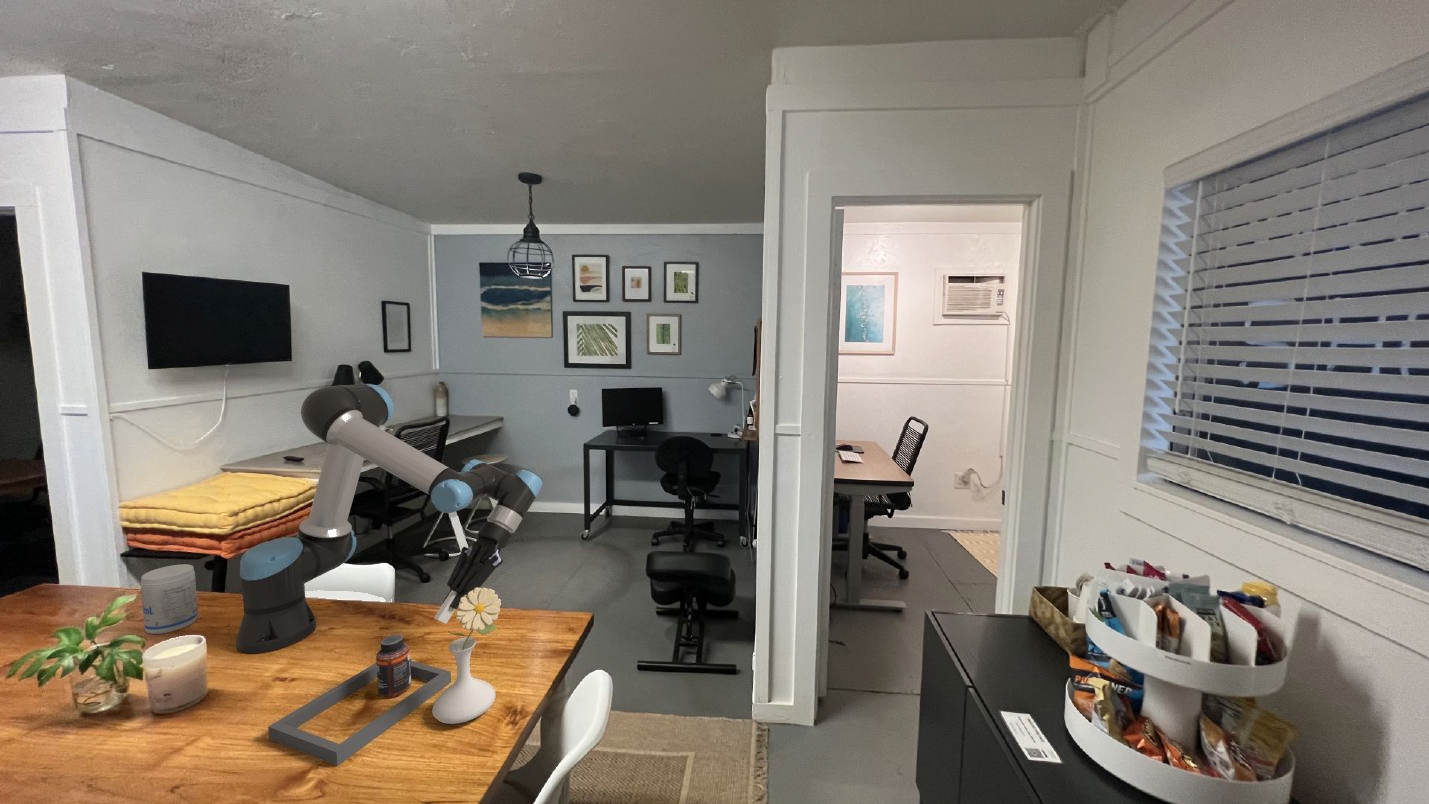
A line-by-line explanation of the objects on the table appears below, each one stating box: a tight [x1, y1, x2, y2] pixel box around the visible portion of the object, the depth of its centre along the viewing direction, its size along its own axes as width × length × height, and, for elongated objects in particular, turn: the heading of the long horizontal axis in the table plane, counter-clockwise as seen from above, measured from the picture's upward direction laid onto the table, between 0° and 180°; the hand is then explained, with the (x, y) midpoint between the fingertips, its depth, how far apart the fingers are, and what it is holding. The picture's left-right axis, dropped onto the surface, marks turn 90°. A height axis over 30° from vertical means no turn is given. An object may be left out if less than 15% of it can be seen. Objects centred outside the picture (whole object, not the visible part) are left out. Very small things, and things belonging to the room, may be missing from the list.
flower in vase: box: [431, 587, 502, 725], centre depth 101 cm, size 13×11×25 cm
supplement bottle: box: [375, 634, 412, 699], centre depth 108 cm, size 6×6×11 cm
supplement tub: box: [140, 563, 199, 635], centre depth 132 cm, size 10×10×15 cm
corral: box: [268, 659, 452, 767], centre depth 102 cm, size 18×24×2 cm
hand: (440, 620), depth 116 cm, fingers closed
